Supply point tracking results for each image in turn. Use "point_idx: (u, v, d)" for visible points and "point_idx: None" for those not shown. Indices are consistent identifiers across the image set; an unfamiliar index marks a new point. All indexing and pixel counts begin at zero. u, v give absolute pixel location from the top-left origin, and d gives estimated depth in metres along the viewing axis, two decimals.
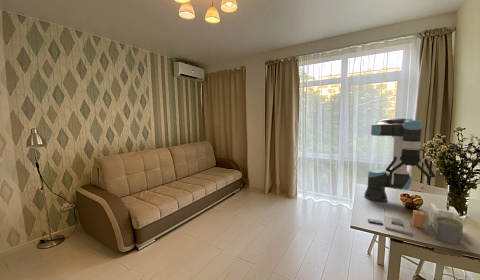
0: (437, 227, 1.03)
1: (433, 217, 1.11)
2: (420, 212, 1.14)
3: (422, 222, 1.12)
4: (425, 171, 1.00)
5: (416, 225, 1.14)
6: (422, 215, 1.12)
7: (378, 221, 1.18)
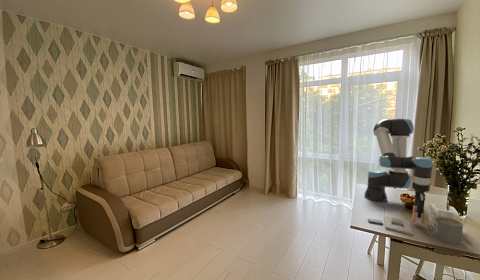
0: (437, 227, 1.03)
1: (433, 217, 1.11)
2: None
3: (422, 217, 1.12)
4: None
5: None
6: None
7: (378, 221, 1.18)
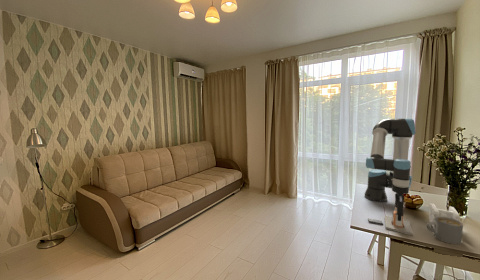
0: (437, 227, 1.03)
1: (433, 217, 1.11)
2: None
3: None
4: None
5: None
6: None
7: (378, 221, 1.18)
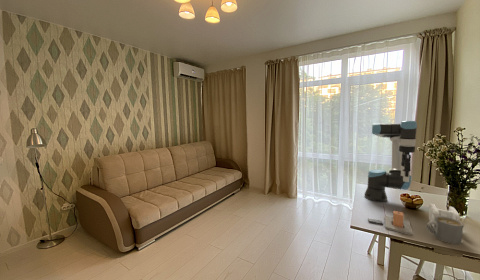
0: (437, 227, 1.03)
1: (433, 217, 1.11)
2: (400, 213, 1.13)
3: (401, 223, 1.11)
4: None
5: None
6: (401, 216, 1.11)
7: (378, 221, 1.18)
